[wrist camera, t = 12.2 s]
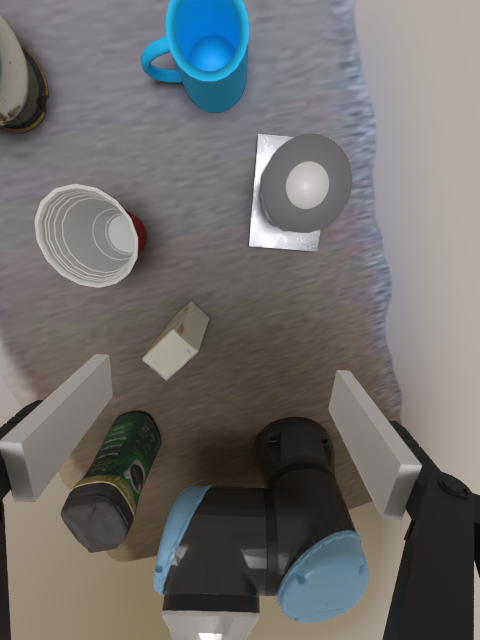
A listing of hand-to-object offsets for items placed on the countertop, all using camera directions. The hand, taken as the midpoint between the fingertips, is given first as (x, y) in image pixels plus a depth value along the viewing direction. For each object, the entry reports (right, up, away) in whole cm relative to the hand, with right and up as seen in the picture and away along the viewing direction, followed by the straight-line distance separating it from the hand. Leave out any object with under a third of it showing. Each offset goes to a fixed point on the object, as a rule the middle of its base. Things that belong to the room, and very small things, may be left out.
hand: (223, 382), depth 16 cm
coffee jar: (-18, -18, +37) cm, 45 cm away
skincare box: (-8, +3, +29) cm, 31 cm away
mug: (-4, +34, +19) cm, 39 cm away
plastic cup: (-16, +16, +25) cm, 34 cm away
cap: (+8, +19, +16) cm, 26 cm away
